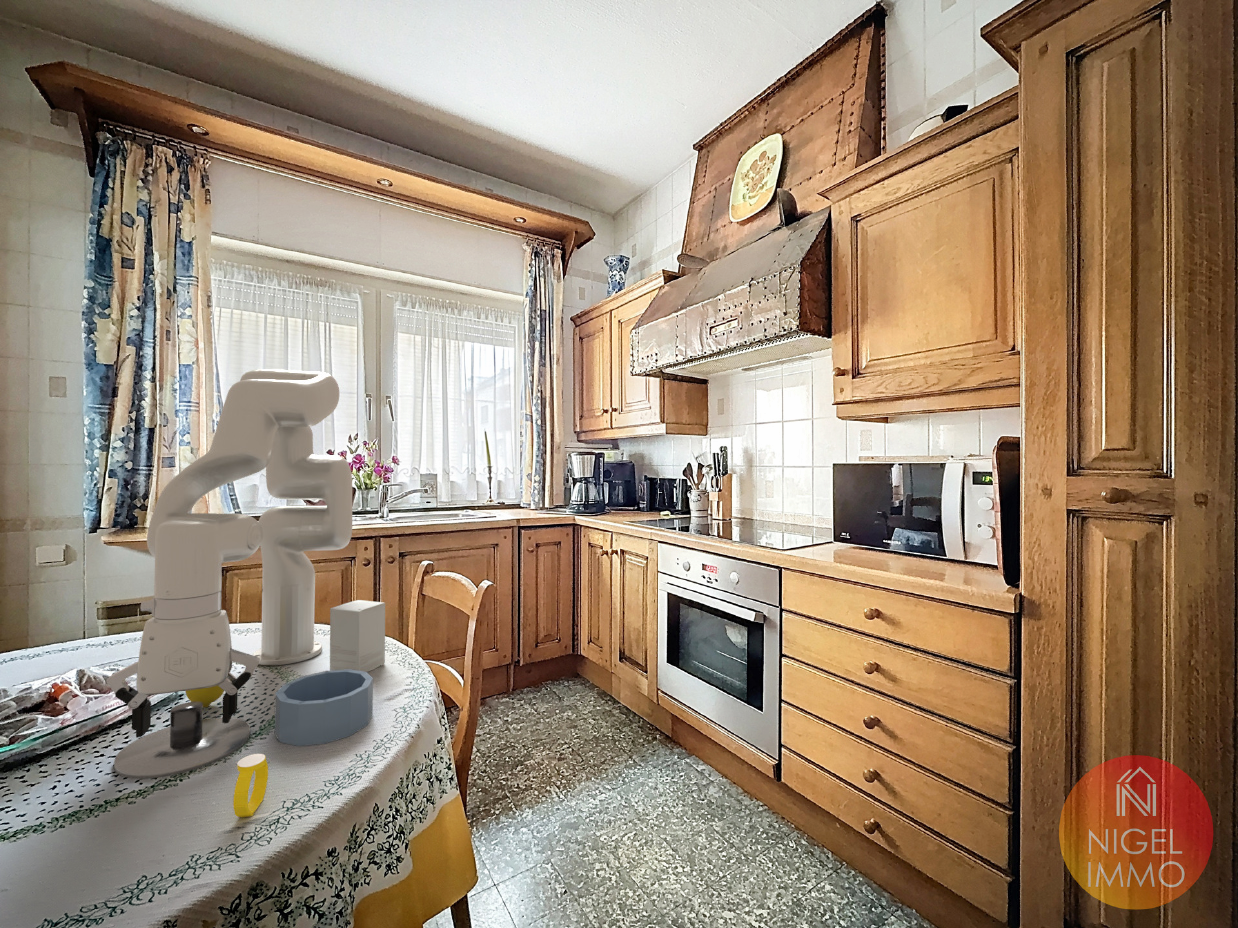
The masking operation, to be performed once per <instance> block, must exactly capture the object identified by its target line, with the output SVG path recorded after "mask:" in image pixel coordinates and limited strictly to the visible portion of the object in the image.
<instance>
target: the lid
mask: <svg viewBox="0 0 1238 928" xmlns="http://www.w3.org/2000/svg"><path fill="white" fill-rule="evenodd" d="M203 708H204V707H203V703H202V702H197V701H195V702H191V701H188V702H187V701H186V702H183V703H180V704H177V705H175V706H173V707H172V708H171V709H170V713H169V714H170V716H169V717H170V719H169V720H170V721H169V722H170V723H169V725H170V726H168V727H165V728H162V729H159V730H157V731H154V732H151V733H148V734H146V735H143V736H142V737H139V738H138V739H136V740H135V741H132V742H131V743H129V744H128V745H126V746H125V747H124V748H122V749H121V750H120V751H119V752H118V753H117V754H116V756H115V757H114V764H113V765H114V766H113V767H114V771H115V773H116V774H117V775H119V776H121V777H124V778H128V779H135V780H136V779H138V780H139V779H140V780H143V779H144V780H146V779H148V780H149V779H158V778H164V777H169V776H175V775H179V774H183V773H187V772H190V771H194V770H197V769H200V768H203V767H205V766H209V765H211V764H214V763H216V762H218V761H221V760H223V759H225V758H226V757H228V756H230V755H231V754H233V753H234V752H235V753H236V751H238V750H239V749H241V748H242V747H243V746H245V744H246V743H247V742H248V740H249V739H250V736H251V726H250V724H249V722H247V721H245V720H243V719H240V718H237V717H236V718H234V717H231V719H230V721H229V723H225V724H224V723H222V717H210V718H209V717H208V718H203V717H204V716H203V715H204V709H203Z"/></svg>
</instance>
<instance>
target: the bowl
mask: <svg viewBox="0 0 1238 928" xmlns="http://www.w3.org/2000/svg"><path fill="white" fill-rule="evenodd" d="M274 696H275V697H274V734H275V736H276V738H277V740H278V742H279V743H283V744H288V745H291V746H296V747H301V746H313V745H323V744H324V745H325V744H328V743H332V742H334V741H338V740H341V739H344V738H348V737H350V736H352V735H354V734H355V733H357V732H359V731H361V729H364V728H365V727H367V726H368V725H369V723H370V721H371V719H372V717H373V711H374V710H373V706H374V702H373V698H374V677H372V676H371V675H370V674H369V673H368V672H363V671H357V670H350V669H346V670H331V671H330V670H325V671H324V670H323V671H319V672H314V673H312V674H311V673H310V674H307V675H303V676H300V677H298V678H295V679H293V680H291V681H289V682H286V683H284V684H283V685H282V686H281V687H280V688H279V689H278V690H276V692H275V693H274Z"/></svg>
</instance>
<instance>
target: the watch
mask: <svg viewBox="0 0 1238 928" xmlns="http://www.w3.org/2000/svg"><path fill="white" fill-rule="evenodd" d="M267 761H268V760H267V757H266V755H265V754H263V753H252V754H249V755H246V756H244V757H243V758H241V759H240V760H238V761H237V766H236V769H237V771H238V772H239V774H238V776H237V780H236V781H235V782H236V784H235V787H234V792H233V793H234V794H233V812H234V815H235V816H236V817H237V818H239V817H241V818H246V817H247V818H249V817H253V816H255V815H254V814H255V812H256V811H257V809H258V808H259V807H260V805H261V804H262V802H263V801H264V798H265V794H266V790H267V787H268V786H267V785H268V780H269V764H268V762H267ZM253 775H254V782H253V788H252V792H251V795H250V798H249V791H250V786H251V782H252V781H251V780H252V778H253Z"/></svg>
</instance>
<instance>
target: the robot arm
mask: <svg viewBox="0 0 1238 928" xmlns="http://www.w3.org/2000/svg"><path fill="white" fill-rule="evenodd" d="M339 401H340V387H339V384H338V381H337V380H336V379H335V377H334V376H332V375H331V374H330V373H326V372H322V371H308V370H306V371H305V370H304V371H303V370H289V369H288V370H286V369H257V370H256V369H254V370H249V371H248V372H245V373H244V374H242V376H241V377H240V380H239V381H237V382H235V383H234V384H233V385H232V386H231V387H230V388H229V390H228V391H227V395H226V398H225V401H224V403H223V407H222V411H221V414H220V417H219V419H218V423H217V425H216V429H215V432H214V436H213V438H212V442H211V445H210V448H209V450H207V453H205V454H203V455H201V457H199V458H197V459H196V460H194V461H193V462H191V463H190V464H189V465H188V466H186V467H185V468H183V469H182V470H181V471H180V472H179V473H178V474H176V476H175V477H173V478H172V479H171V480H170V481H169V482H168V483H167V485H166V486H165V487H164V488H163V489H162V491H161V493H160V495H159V497H158V498H157V501H156V504H155V507H154V510H153V513H152V516H151V518H150V522H149V525H148V528H147V534H146V545H147V550H148V552H149V553H150V555H151V556H152V557H153V558H154V588H153V589H154V590H153V591H154V593H153V594H154V596H153V597H152V598H151V599H149V600H146V601H145V600H144V601H141V604H140V611H141V612H148V613H149V612H150V613H151V618H149V619H147V620H146V621H145V624H144V627H143V631H142V635H141V640H140V646H139V652H138V661H137V662H134V663H132V664H130V665H128V666H127V667H124V668H122V669H120V670H118V671H117V672H115V673H113V674H111V675H110V676H109V677H107V678H106V682H105V683H106V684H107V685H108V686H109V688H110V689H111V691H112V692H114V696H115V698H116V699H118V700H119V701H121V702H122V703H125V705H127V707H128V708H129V709H130V710H131V730H132V731H133V730H135V737H136V738H138V739H139V738H142V737H144V736H145V734H146V733H147V732H148V731H149V729H151V726H152V725H151V718H152V717H151V716H152V715H151V714H152V712H151V711H152V708H151V707H152V700H150V699H149V698H148V697H149V696H155V695H157V696H158V695H163V694H171V693H178V692H186V691H188V690H195V689H202V688H209V687H213V686H217V685H218V686H219V687H220V688H222V689H223V690H224V692H225V693H223V695H222V711H221V712H222V715H221V718H222V723H224V724H225V723H229V721H230V719H231V718H233V717H232V716H233V715H235V714H237V712H238V700H239V699H238V695H239V693H238V691H239V690H240V689H241V688H242V687H243V686H244V685H245V684H246V683H247V682H248V681H249V680H251V677H252V675H253V674H254V672H255V671H256V669H257V667H258V666H259V665H260V666H282V665H290V664H295V663H300V662H303V661H306V660H309V659H311V658H312V659H313V658H315V657H316V656H318V655H320V654H321V652H322V651H323V644H322V643H320V642H319V641H317V640H316V641H315V605H316V604H315V598H316V597H315V595H316V589H315V588H316V570H315V567H314V565H313V562H311V559H309V557H308V556H307V555H306V553H304V552H312V551H315V552H316V551H317V552H319V551H338V550H342V549H344V548H346V547H348V545H349V543H350V541H351V539H352V534H353V475H352V470H351V467H350V464H349V462H348V461H347V460H346V459H345V458H344V457H341V456H337V455H326V454H318V455H317V454H315V453H314V437H313V436H314V434H313V430H312V427H314V426H316V425H318V424H319V423H321V422H322V421H324V420H325V419H326V418H328V417H329V416H330V415H332V413H333V412H334V411H335V410H336V409H337V407H338V404H339ZM264 469H265V479H266V480H265V482H266V488H267V490H268V491H267V492H268V494H269V495H271V497H273V498H276V499H279V500H280V499H281V500H291V501H292V500H295V501H296V500H297V501H298V500H300V501H301V500H306V501H309V500H312V501H313V500H314V501H315V500H316V501H319V500H321V501H324V503H325V505H280V506H275V507H272V508H269V509H267V510H265V511H264V512H263V513H262V514H261V515H260V517H259V519H258V520H257V519H256V518H254V517H252V516H251V515H249V514H245V513H244V514H243V513H216V512H215V513H210V512H209V513H208V512H207V513H206V512H205V513H203V512H202V513H197V512H196V513H195V512H193V513H191V511H192V509H193V508H194V507H195V505H196V504H197V503H198V501H199V500H201V499H202V498H203V497H204V496H206V495H207V494H209V493H210V492H212V491H214V490H216V489H218V488H220V487H222V486H225V485H227V484H230V483H232V482H235V481H239V480H240V479H244V478H247V477H250V476H251V475H255V474H257V473H259V472H261V471H263V470H264ZM259 548H260V551H261V552H260V553H261V560H262V561H261V564H262V566H261V567H262V584H261V585H262V586H261V587H262V589H261V648H259V649H257V650H255V651H254V653H252V654H250V653H246V652H244V651H240V650H238V649H234V648H232V647H233V645H232V635H231V628H230V621H229V617H228V614H227V610H225V609H222V581H223V578H222V576H223V575H222V574H223V573H222V572H223V571H222V570H223V566H222V565H223V563H230V562H233V563H234V562H239V561H244V560H246V559H248V558H249V557H251V556H253V555H254V554H255V553H256V552H257V550H258V549H259ZM233 662H234V663H236V664H240V665H243V666H244V667H245V669H244V671H243V672H242V673H241V674H240V675H239V676H238V677H236V676H235V675H234V674H232V673H231V671H232V669H233ZM134 675H136V685H135V686H136V689H135V688H134V687H132V686H130V685H128V684H127V681H126V679H128V678H130V677H132V676H134Z"/></svg>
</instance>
